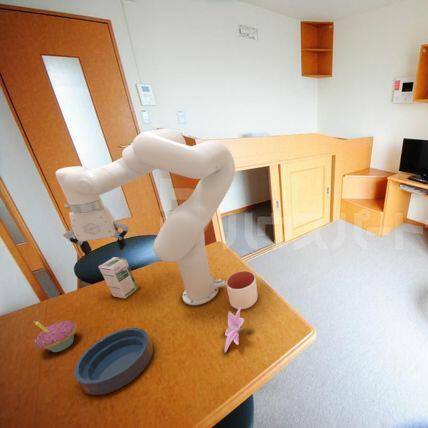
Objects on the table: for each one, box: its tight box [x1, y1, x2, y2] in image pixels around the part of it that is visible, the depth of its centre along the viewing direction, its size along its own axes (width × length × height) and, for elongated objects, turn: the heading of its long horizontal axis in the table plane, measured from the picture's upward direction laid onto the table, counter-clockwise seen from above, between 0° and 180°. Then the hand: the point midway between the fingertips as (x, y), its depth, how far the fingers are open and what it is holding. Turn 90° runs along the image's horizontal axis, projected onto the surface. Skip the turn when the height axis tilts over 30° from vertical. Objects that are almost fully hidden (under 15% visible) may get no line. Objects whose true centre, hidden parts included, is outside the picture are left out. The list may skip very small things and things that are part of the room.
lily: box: [224, 307, 251, 354], centre depth 74 cm, size 12×12×10 cm
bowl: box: [73, 327, 154, 396], centre depth 66 cm, size 16×16×6 cm
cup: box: [225, 270, 259, 310], centre depth 87 cm, size 10×10×10 cm
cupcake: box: [32, 320, 78, 353], centre depth 70 cm, size 9×8×12 cm
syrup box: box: [98, 256, 139, 299], centre depth 89 cm, size 6×6×14 cm
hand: (106, 250), depth 83 cm, fingers open, 9 cm apart
